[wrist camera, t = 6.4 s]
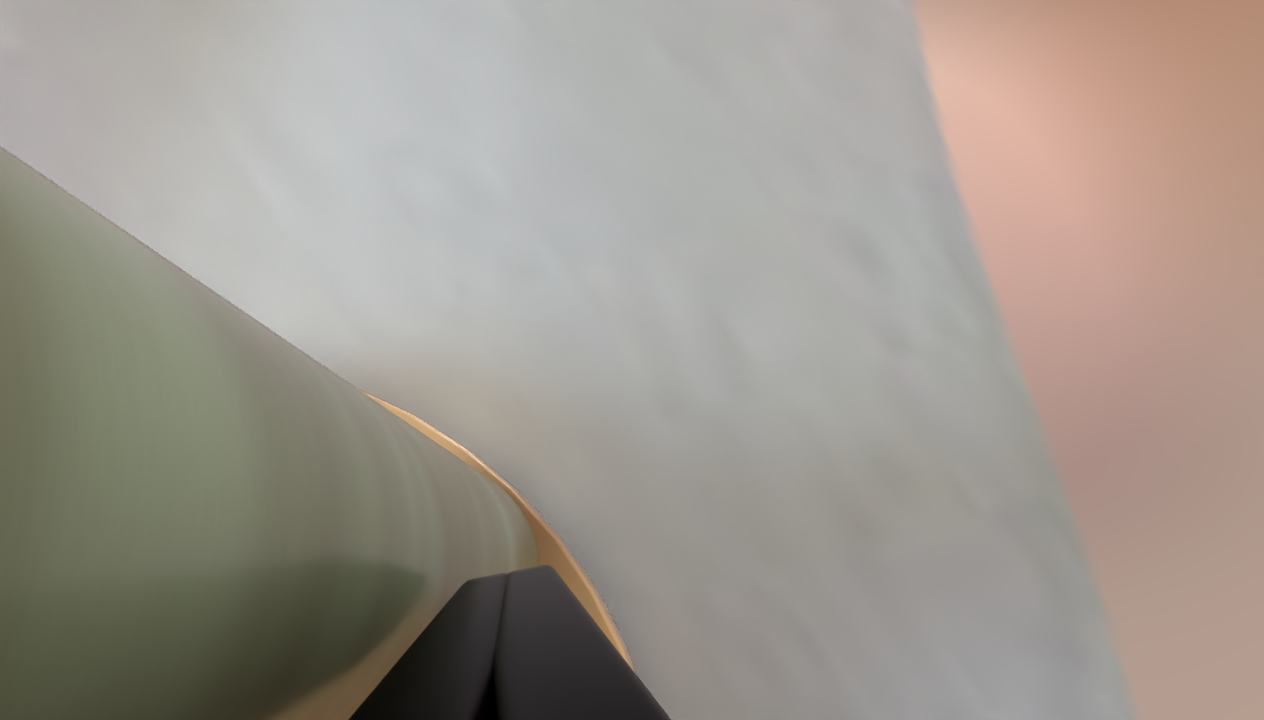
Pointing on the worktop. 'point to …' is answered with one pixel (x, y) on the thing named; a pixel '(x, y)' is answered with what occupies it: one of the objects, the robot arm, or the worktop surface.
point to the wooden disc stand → (211, 496)
